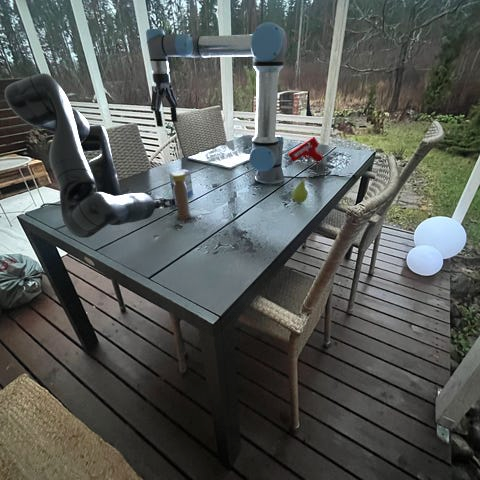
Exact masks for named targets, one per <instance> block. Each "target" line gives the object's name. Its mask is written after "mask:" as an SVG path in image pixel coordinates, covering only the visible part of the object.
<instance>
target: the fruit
mask: <svg viewBox="0 0 480 480" xmlns="http://www.w3.org/2000/svg"><path fill="white" fill-rule="evenodd" d="M307 176H308V177H307ZM307 176H306V177H307V178H304V179H301V181H300V182H298V184H297V185H296V186H295V187H294V188H293V190H292V191H291V198H292V200H293V201H294V202H295V203H297V204H301V203H304V202H305V201H306V200H307V198H308V196H309V195H308V190H307V189H306V184H305V183H306V180H308V179H310V178H309V177H310V176H311V175H310V174H309V175H307Z"/></svg>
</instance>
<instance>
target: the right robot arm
mask: <svg viewBox="0 0 480 480" xmlns="http://www.w3.org/2000/svg"><path fill="white" fill-rule="evenodd" d="M145 36H146V46H147V50H148V55H149V63H150V69H151V72H152V74H151V76H152V83H153V84H155V85H152V86H151V102H150V110H151V111H152V112H154V117H155V121H156V127H158V128H163V127H164V123H163V116H162V111H161V106H162V102H163V99H164V98H166V100H167V102H168V103H169V106H170V109H169V110H170V116H171V117H170V118H171V122H172V123H173V122H174V123H178V122H179V121H178V114H177V108H178V107H179V102H178V99H177V97H176V94H175V91H174V87H173V84H170V83H171V75H170V73H169V72H170V68H169V60H168V57H175V58H176V57H177V58H178V57H179V58H180V57H182V58H211V57H212V58H218V57H219V58H220V57H221V58H222V57H224V58H225V57H226V58H227V57H229V58H230V57H253V68H254V69H255V71H256V107H255V108H256V110H255V135H254V136H253V137H252V139H251V151H250V153H249V155H250V156H249V160H250V161H249V163H250V166H251V167H252V168H253V169H254V170H256V174H255V177H254V181H255V183H258V184H259V185H262V186H263V185H264V186H279V185H281V184H283V183H284V181H285V179H295V180H299V179H300V180H304V179H306V178H307V176H291V175H284V172H283V171H284V170H283V167H282V165H283V154H284V153H283V152H284V137H283V135H280V134H279V135H278V134H276V129H277V128H276V127H277V113H278V112H277V111H278V95H279V80H280V79H279V77H280V71H281V70H282V69H283V68H284V61H285V60H284V59H285V56H286V54H287V52H288V49H289V47H290V46H289V45H290V39H289V35H288V33H287V31H286V30H285V29H284V28H283V27H281V26H280V25H278V24H277V23H276V22H271V21H268V22H267V21H266V22H262V23H261V24H259V25H258V26H257V27H256V28H255V29H254V30H253V32H252V34H231V35H230V34H228V35H208V36H190V35H189V34H188V33H178V34H165V30H164V29H162V28H147V29H146V31H145ZM325 174H326V175H321V174H318V175H319V176H316V175H312V176H313V177H309V178H307V179H313V178H320V177H329V176H330V177H336V178H346V177H348V176H350V175H348V176H339V175H340V174H334V175H329V174H330V173H325ZM349 174H353V173H349ZM351 176H352V177H356V174H354V175H351Z"/></svg>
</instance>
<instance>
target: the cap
mask: <svg viewBox="0 0 480 480" xmlns="http://www.w3.org/2000/svg"><path fill="white" fill-rule="evenodd" d="M174 172H175V171H174ZM172 176H173V180H174V181H183V180H185V173H184V172H175V173H173V174H172Z"/></svg>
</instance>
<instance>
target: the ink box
mask: <svg viewBox="0 0 480 480" xmlns="http://www.w3.org/2000/svg"><path fill="white" fill-rule="evenodd" d="M175 172H184V173H185V180H184V182H185V185H186V187H187V195H188V197H191V196H193V195H194V191H193V190H194V189H193V181H192V175H191V173H192V172H191V170H188V169H185V168H183V169H178V170H175V171H172V172H169V173H168V174H169V182H170V187H171V194H172V198H175V191H174V185H175V181H174V180H173V176H172V174H173V173H175ZM175 200H176V198H175Z"/></svg>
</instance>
